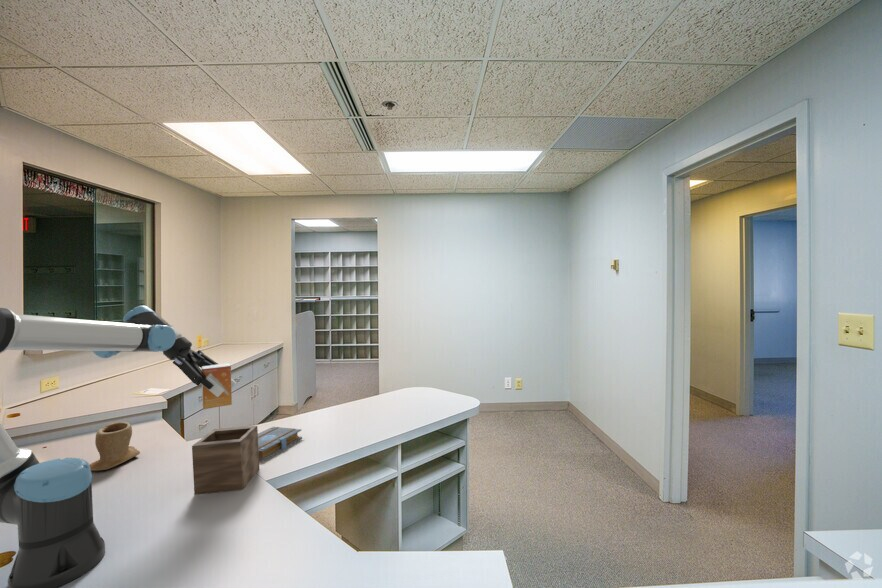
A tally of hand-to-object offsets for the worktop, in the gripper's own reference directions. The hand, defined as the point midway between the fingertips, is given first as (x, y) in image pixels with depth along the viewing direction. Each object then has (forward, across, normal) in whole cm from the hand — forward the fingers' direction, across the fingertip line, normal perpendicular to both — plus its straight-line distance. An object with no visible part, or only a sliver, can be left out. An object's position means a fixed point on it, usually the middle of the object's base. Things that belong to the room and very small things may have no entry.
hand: (227, 389), depth 121 cm
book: (+24, -24, -18) cm, 39 cm away
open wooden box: (+21, +1, -21) cm, 30 cm away
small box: (+1, 0, -6) cm, 6 cm away
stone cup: (-13, -24, -56) cm, 62 cm away
